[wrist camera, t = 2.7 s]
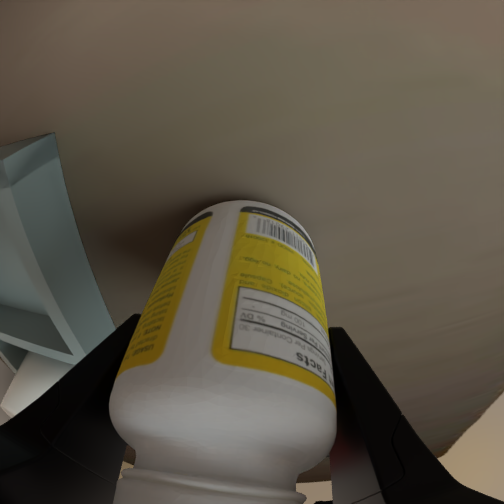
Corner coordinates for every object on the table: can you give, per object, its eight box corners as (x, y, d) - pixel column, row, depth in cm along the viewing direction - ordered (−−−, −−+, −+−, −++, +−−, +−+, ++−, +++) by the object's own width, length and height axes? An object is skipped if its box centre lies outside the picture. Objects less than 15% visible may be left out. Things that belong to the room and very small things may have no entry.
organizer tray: (156, 406, 21) (148, 438, 19) (54, 379, 22) (43, 403, 19) (54, 132, 9) (3, 159, 7) (-55, 167, 10) (-87, 190, 7)
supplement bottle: (196, 311, 14) (142, 526, 6) (162, 204, 10) (13, 481, 2) (317, 306, 13) (327, 546, 5) (315, 189, 10) (368, 558, 2)
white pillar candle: (119, 396, 19) (97, 463, 14) (57, 378, 20) (33, 435, 15) (86, 346, 16) (50, 428, 11) (21, 328, 16) (-16, 393, 11)
